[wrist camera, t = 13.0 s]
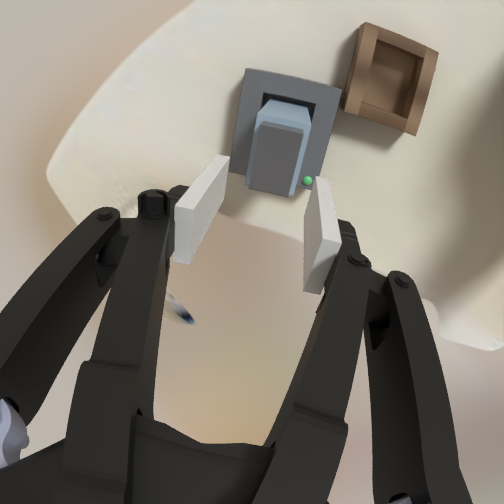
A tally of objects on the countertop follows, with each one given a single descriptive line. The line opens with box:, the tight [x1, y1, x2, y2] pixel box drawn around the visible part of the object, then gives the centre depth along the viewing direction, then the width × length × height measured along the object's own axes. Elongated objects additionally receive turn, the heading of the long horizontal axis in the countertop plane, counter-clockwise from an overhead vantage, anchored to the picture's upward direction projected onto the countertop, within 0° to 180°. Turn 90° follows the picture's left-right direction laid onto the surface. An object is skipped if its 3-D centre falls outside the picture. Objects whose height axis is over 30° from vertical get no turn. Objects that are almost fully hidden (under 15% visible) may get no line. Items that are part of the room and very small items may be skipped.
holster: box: [340, 22, 439, 136], centre depth 25 cm, size 10×8×3 cm
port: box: [229, 68, 342, 190], centre depth 31 cm, size 12×10×3 cm
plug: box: [245, 98, 311, 197], centre depth 26 cm, size 6×4×14 cm, turn 170°
